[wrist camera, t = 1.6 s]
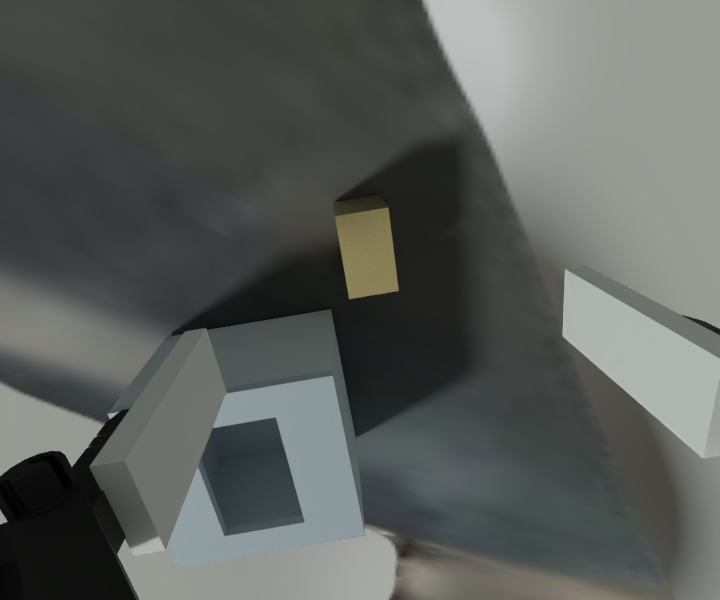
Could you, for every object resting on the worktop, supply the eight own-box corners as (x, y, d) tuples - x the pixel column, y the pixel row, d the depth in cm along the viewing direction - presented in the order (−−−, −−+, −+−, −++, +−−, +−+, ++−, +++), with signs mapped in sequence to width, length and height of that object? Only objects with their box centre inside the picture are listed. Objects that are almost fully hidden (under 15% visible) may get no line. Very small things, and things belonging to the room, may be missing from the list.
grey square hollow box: (166, 336, 31) (107, 413, 22) (330, 309, 31) (332, 375, 23) (213, 464, 35) (178, 568, 27) (356, 439, 35) (365, 535, 27)
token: (333, 202, 28) (334, 216, 23) (378, 194, 28) (388, 207, 24) (345, 273, 30) (349, 299, 25) (387, 266, 30) (398, 290, 25)
